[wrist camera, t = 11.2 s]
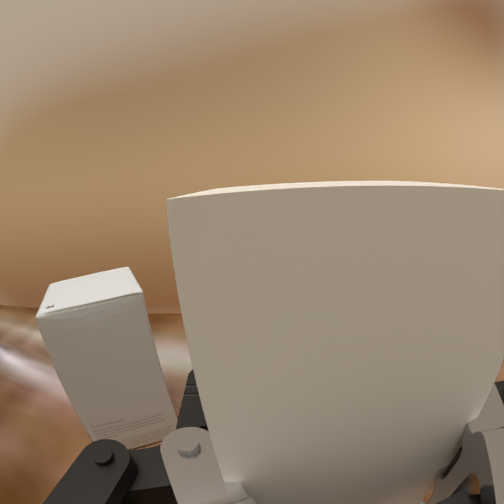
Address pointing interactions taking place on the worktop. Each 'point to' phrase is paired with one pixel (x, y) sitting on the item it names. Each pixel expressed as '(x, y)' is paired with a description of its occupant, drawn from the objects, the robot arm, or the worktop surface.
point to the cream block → (340, 331)
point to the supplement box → (107, 357)
